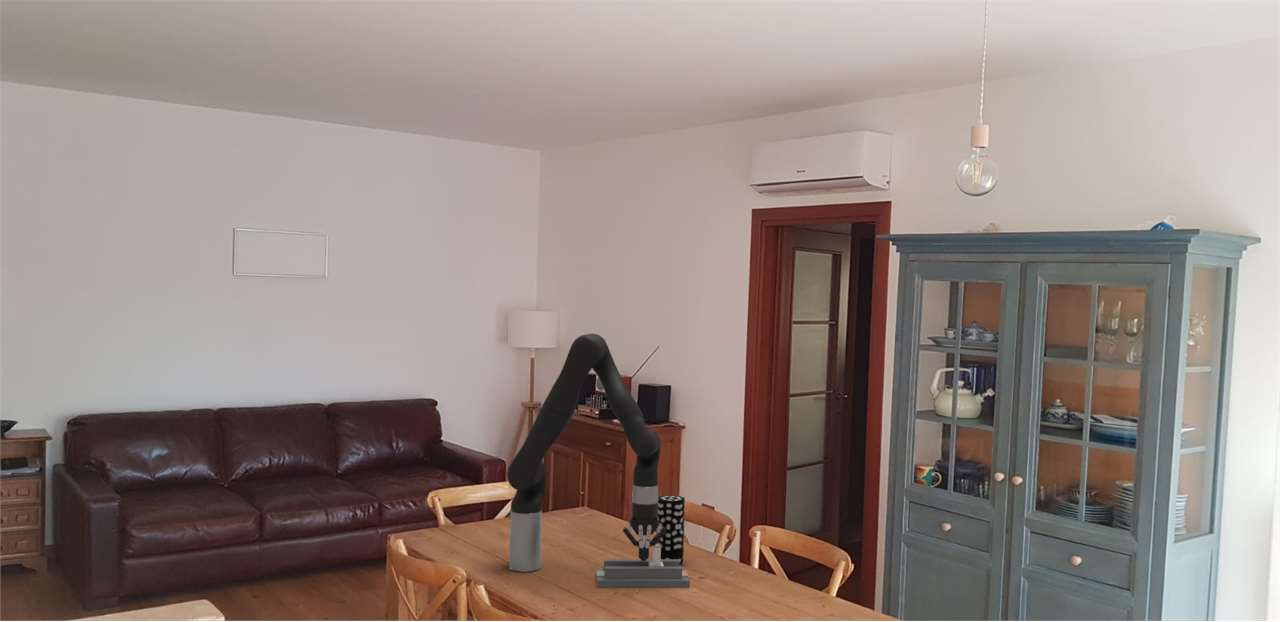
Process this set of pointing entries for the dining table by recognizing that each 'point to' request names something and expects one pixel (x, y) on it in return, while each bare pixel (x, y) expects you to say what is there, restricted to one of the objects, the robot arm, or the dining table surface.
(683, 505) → the spotted tube
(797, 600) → the dining table surface
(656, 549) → the breaker handle
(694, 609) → the dining table surface
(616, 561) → the breaker panel
